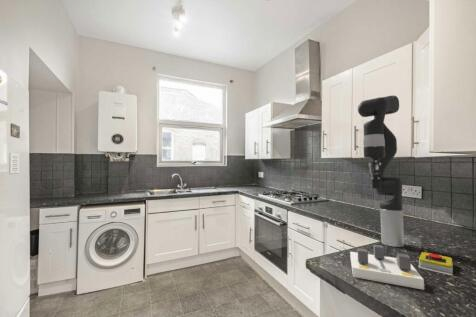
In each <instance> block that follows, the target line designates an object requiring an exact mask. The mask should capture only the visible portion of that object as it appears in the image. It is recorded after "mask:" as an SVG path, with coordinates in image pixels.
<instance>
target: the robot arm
mask: <svg viewBox="0 0 476 317" xmlns="http://www.w3.org/2000/svg"><path fill="white" fill-rule="evenodd" d="M399 110H400V100H399V98H398V96H396V95H387V96H383V97H376V98H371V99H366V100H362V101H361V102H359V104H358V106H357V112H358V114H359V115H360V117H363V118H368V117H373V118H374V119H372V120H369V121H366V122H364V124H363V158H365V159H369V161H368V169H369V175H370V179H371V187H372V189H375V190H376V193H377V195H379V196H392V197H393V198H392V199H390V200H388V201H383V202H380V205H379V210H380V211H379V214H380V238H381V241H380V242H381V244H382V245H385V246H390V247H394V248H403V247H405V239H404V238H405V237H404V236H405V234H404V215H403V214H404V212H403V211H404V210H403V182H402V179H401V178H400V177H397V176H396V177H395V176H394V177H388V176H386V177H385V172H386V169H387V167H388V166H389V165H390V163H391V161H392V160H393V159H394V157H395V156H396V154H397V151H398V146H397V145H398V143H397V137H396V136H395V134H394V133H393V131H391V130H390V129H389V127H388V126H387V125H386V124H385V118H386V115H392V114H395V113H397V112H398V111H399Z"/></svg>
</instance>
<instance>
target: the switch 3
mask: <svg viewBox="0 0 476 317" xmlns="http://www.w3.org/2000/svg"><path fill="white" fill-rule="evenodd" d="M396 258H397V265H398V267H399V268H400V269H404V270H411V264H412V263H411V257H410V255H409V254H405V253H396Z"/></svg>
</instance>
